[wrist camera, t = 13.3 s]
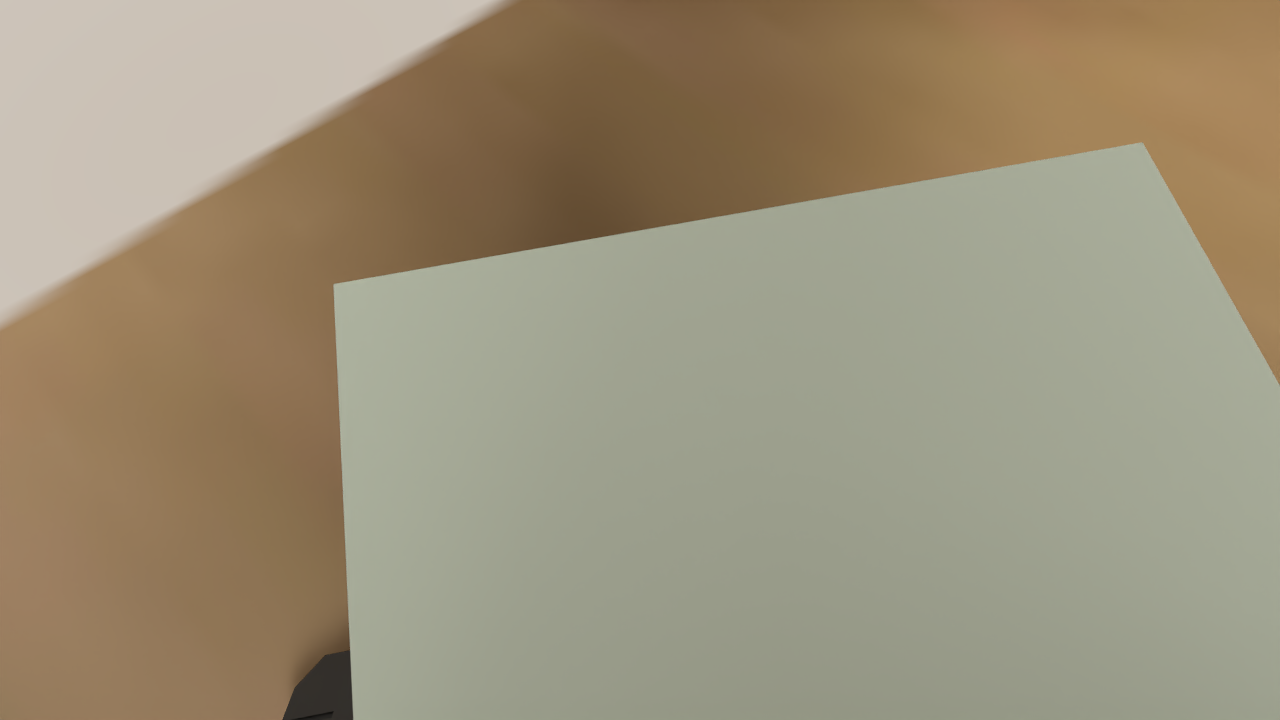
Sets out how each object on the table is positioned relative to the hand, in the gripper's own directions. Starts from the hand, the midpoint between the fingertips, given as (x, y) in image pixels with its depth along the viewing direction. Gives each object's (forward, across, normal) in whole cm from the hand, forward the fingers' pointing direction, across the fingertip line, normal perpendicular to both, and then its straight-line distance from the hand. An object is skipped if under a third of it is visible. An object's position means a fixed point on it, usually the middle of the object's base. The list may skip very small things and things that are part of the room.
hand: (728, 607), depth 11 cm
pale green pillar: (+3, 0, +6) cm, 6 cm away
